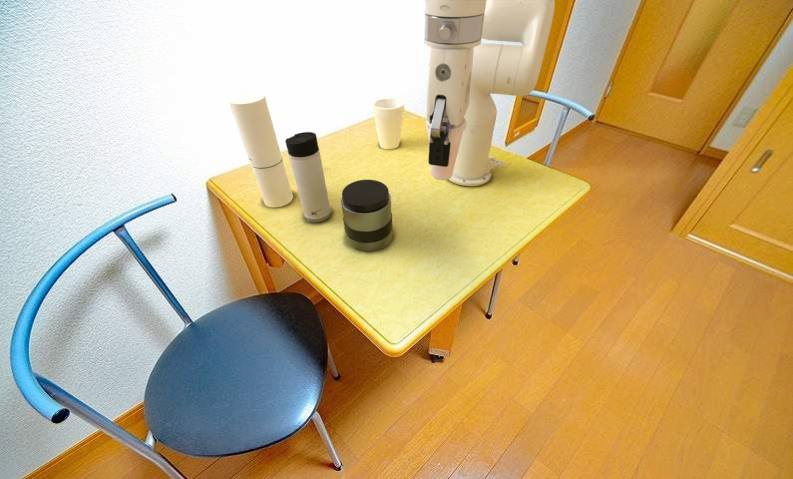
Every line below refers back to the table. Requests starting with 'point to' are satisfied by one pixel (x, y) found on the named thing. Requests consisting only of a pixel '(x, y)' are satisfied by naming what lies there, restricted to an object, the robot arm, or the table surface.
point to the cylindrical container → (261, 147)
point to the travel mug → (309, 176)
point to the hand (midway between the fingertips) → (443, 154)
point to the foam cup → (388, 121)
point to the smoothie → (455, 140)
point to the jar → (367, 215)
